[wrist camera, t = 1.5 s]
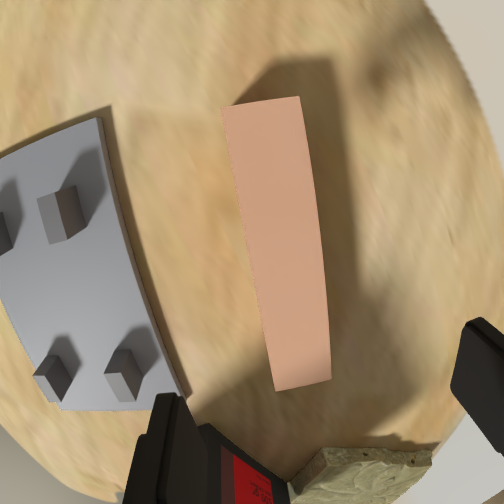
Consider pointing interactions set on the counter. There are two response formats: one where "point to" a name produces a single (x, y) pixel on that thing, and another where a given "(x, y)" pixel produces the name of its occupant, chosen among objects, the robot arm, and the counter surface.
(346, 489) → the decorative tile
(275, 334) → the clay strip
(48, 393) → the grey plate with pegs
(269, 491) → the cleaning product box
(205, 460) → the robot arm
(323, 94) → the counter surface
